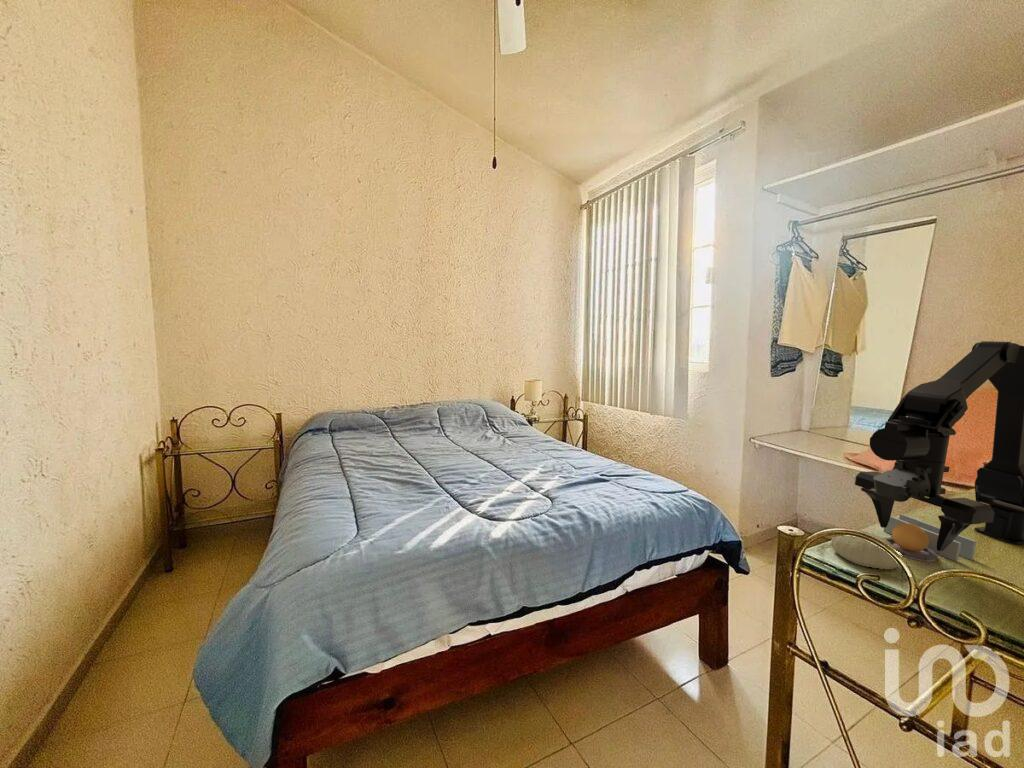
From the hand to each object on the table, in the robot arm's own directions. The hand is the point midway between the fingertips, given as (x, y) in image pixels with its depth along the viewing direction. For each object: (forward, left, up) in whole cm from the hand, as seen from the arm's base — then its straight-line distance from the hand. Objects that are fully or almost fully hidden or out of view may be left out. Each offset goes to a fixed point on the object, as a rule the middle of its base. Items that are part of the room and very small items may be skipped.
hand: (910, 538), depth 79 cm
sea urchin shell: (+12, +1, -3) cm, 13 cm away
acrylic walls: (-7, -1, -2) cm, 8 cm away
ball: (0, 0, 0) cm, 0 cm away
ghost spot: (0, 0, -2) cm, 2 cm away
